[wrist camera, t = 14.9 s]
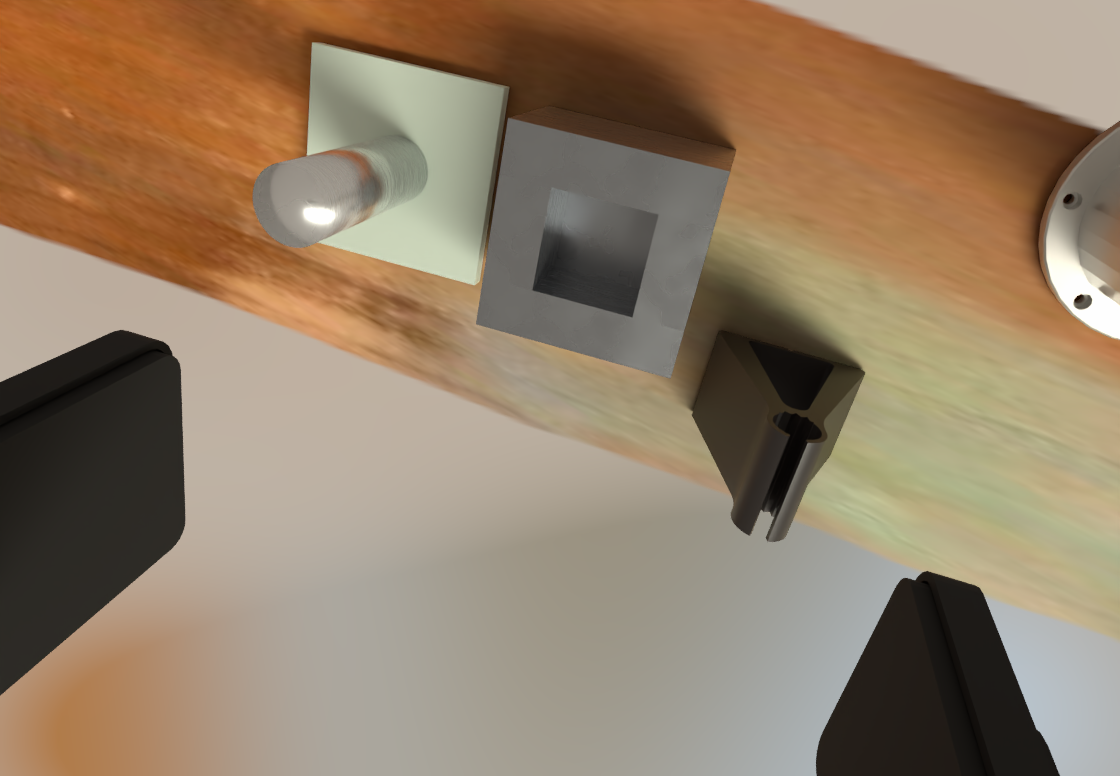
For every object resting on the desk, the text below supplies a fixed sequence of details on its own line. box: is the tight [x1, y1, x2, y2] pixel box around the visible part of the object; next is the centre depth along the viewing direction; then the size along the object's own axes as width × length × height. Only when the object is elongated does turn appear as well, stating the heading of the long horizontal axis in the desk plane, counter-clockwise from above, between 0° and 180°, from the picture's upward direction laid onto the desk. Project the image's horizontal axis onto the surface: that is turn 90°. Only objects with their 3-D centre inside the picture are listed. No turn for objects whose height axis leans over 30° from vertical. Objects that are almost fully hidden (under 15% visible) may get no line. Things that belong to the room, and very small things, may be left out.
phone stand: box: [692, 331, 865, 542], centre depth 43 cm, size 9×6×12 cm, turn 77°
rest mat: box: [307, 42, 510, 285], centre depth 48 cm, size 12×12×1 cm
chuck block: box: [476, 106, 736, 378], centre depth 43 cm, size 11×11×8 cm
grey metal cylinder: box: [253, 135, 428, 248], centre depth 42 cm, size 4×4×12 cm
